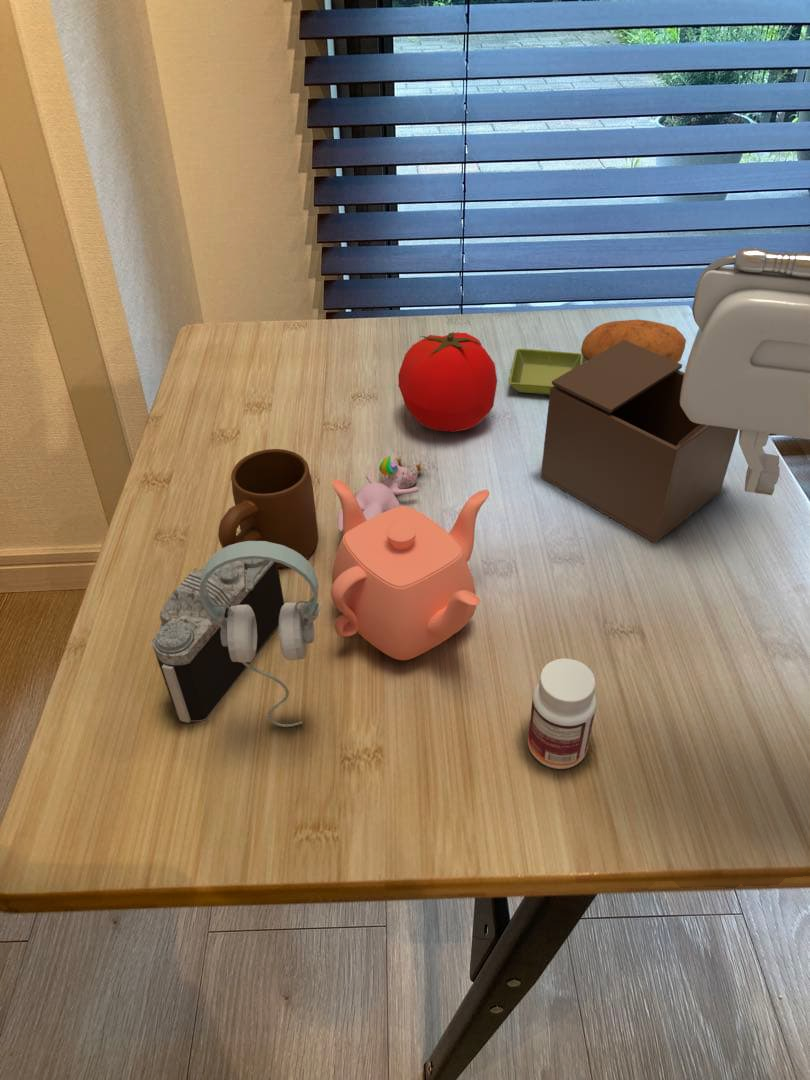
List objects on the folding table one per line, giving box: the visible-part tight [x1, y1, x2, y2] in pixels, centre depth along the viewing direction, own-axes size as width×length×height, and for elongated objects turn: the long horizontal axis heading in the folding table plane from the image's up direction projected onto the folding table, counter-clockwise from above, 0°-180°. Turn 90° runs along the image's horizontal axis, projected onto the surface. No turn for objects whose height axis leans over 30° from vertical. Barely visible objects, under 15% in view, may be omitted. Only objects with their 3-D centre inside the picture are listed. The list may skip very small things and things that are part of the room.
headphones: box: [199, 541, 322, 728], centre depth 63 cm, size 8×4×20 cm, turn 92°
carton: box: [540, 340, 740, 544], centre depth 88 cm, size 15×12×12 cm
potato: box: [580, 319, 687, 363], centre depth 107 cm, size 7×13×7 cm, turn 61°
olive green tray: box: [508, 348, 584, 396], centre depth 107 cm, size 9×9×2 cm
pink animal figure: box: [336, 454, 424, 532], centre depth 88 cm, size 6×6×15 cm
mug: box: [217, 448, 319, 568], centre depth 81 cm, size 12×8×9 cm, turn 153°
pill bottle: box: [527, 658, 597, 770], centre depth 65 cm, size 5×5×8 cm
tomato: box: [397, 331, 498, 433], centre depth 98 cm, size 12×12×11 cm
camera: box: [151, 559, 285, 723], centre depth 72 cm, size 15×7×10 cm, turn 155°
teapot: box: [330, 478, 490, 661], centre depth 74 cm, size 14×14×11 cm
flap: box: [678, 424, 709, 446], centre depth 76 cm, size 7×12×1 cm
